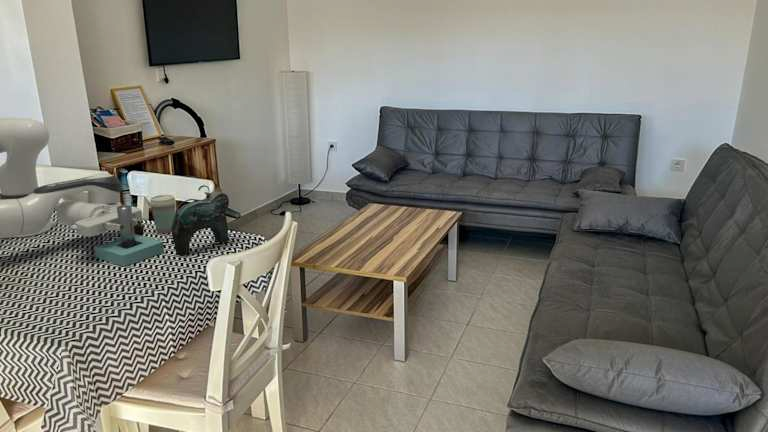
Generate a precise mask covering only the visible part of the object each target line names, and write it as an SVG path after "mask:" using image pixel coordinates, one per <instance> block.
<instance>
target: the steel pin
mask: <svg viewBox="0 0 768 432" xmlns="http://www.w3.org/2000/svg"><path fill="white" fill-rule="evenodd" d="M131 206H132V205H130V204H129V205H127V204H122V206H118V207H117V214H118V221H119V223H120V224H122V225H123V229H122V230H119V234H120V238H121V243H122V248H125V249H128V248H131V247H134V246H136V240H135V232H134V225H133V217H132V209H131Z"/></svg>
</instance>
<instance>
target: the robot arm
mask: <svg viewBox="0 0 768 432" xmlns="http://www.w3.org/2000/svg"><path fill="white" fill-rule="evenodd" d="M47 127H48V126H46V124H45V123H43V122H42V121H38V120H36V119H32V118H29V117H0V154H1V153H6V160H5V162H4V163H3V164H1V166H0V239H7V238H25V237H30V236H35V235H39V234H43V233H46V232H48V231H49V230H51V228H52V227H53V226H54V225H56V223H55V221H54V220H52V219H51V218H52V216H53V214H54V211H55V208H56V211H55V216H56V219H57V221H58V222H59V223H61V224H62V225H64V226H67V227H69V229H70V230H71V231H75V232H76V233H77V234H78V235H80V236H83V237H88V238H91V237H95V236H98V235H101V234H103V233H107V232H109V231H119V232H120V230H122V229H123V225H122V224H120V223H119V221H118V214H117V207H118V206H122V205H123V204H122V202H120V201H121V197H120V196H121V195H120V194H121V190H122V182H121V180H120V179H119V178H118V177H117V176H115V175H114V174H110V173H99V174H94V175H90V176H87V177H81V178H75V179H71V180H65V181H64V180H63V181H60V182H59V181H58V182H54V183H53V182H52V183H50V184H45V185H41V186H39V182H38V178H37V177H38V176H37V160H38V158H39V155H40V153H41V152H42V151H43V150H44V149H45V148H46V147H47V145H48V143H49V141H50V132H49V130H48V128H47ZM84 192H87V202H86V201H82V200H74V199H73V200H69V199H68V200H63V201H61V202H60V203H59V201H60V200H61V199H62V198H64V197H66V196H68V195H69V196H70V195H73V194H79V193H84ZM58 203H59V204H58ZM56 206H57V207H56ZM130 206H131V209H132V217H133V225H136V224H137V221H140V222H141V220H143V212H142V209H141V208H140V207H137V206H133V205H130Z"/></svg>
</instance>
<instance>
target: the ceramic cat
mask: <svg viewBox="0 0 768 432" xmlns="http://www.w3.org/2000/svg"><path fill="white" fill-rule="evenodd" d="M204 187H206V188H207V189H208V192H207V191H206V192H205V191H204V194H205V195H206V196H205V198H204V199H195V198H188V199H186V200H184V201H181V202H180V203H179V204H178V206H177V207H176V208H175V216H174V219H173V223H172V228H171V230H172V232H171V239H172V241H173V245H174V249H175V253H176V255H178V256H181V257H182V256H186V255H189V254H190V252H191V251H190V244H191V240H192V238H193V236H195V235H194V234H196V233H197V232H199V231H201V230H205V229H210V230H211V232H212V234H213V237H214V241H216V243H217V242H219V243H218V244H220V243H222V244H224V243H226V242H225V241H228V242H229V232H228V219H227V215H226V210H227V209H228V207H229V206H230V205H229V204H230V201H229V200H230V199H229V196H228V195H227V193H224V192H223V191H222V189H221V187H219V186H218V187H217V190H216V191H212V192H211V191H210V187H209V186H207V185H205V184H204V185H201V186H199V187H198V190H197V191H198V192H200V190H201V189H202V188H204ZM187 202H188V203H187ZM185 203H186V204H185ZM183 204H184V205H183ZM223 242H224V243H223Z"/></svg>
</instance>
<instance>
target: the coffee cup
mask: <svg viewBox="0 0 768 432" xmlns="http://www.w3.org/2000/svg"><path fill="white" fill-rule="evenodd" d="M176 203H177V199H176V198H175V197H174V195H172V194H159V195H154V196H152V197H150V201H149V206H150V208H151V212H152V217H153V220H154V224H155V228H156V232H157V233H158V234H170V233H171V234H172V230H171V228H172V223H173V219H174V216H175V213H176Z"/></svg>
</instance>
